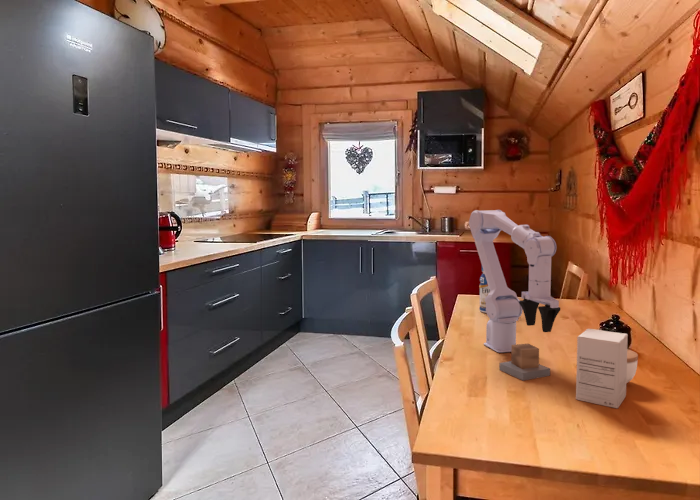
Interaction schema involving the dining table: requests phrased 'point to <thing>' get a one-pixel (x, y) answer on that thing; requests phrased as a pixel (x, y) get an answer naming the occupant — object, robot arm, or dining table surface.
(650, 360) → the dining table surface
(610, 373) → the supplement box
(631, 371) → the lidded jar
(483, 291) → the beverage bottle
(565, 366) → the dining table surface
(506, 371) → the plate
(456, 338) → the dining table surface
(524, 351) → the walnut block
